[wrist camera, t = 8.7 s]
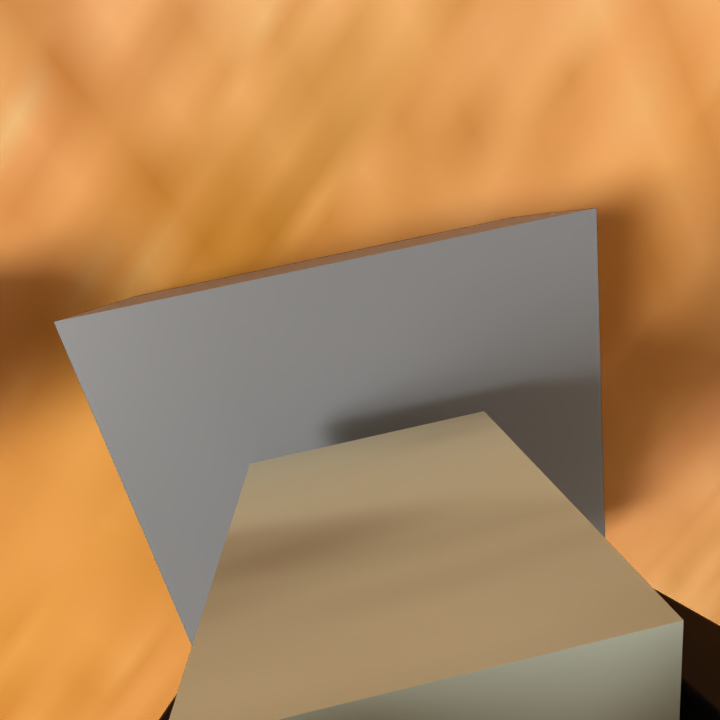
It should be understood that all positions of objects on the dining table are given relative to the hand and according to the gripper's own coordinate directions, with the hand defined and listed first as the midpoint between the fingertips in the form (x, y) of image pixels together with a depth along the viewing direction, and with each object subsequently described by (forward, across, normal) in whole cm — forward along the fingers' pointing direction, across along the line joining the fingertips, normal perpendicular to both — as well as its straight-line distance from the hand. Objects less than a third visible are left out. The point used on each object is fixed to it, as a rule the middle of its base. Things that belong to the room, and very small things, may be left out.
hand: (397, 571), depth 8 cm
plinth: (+6, 0, 0) cm, 7 cm away
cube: (+1, 0, 0) cm, 1 cm away
